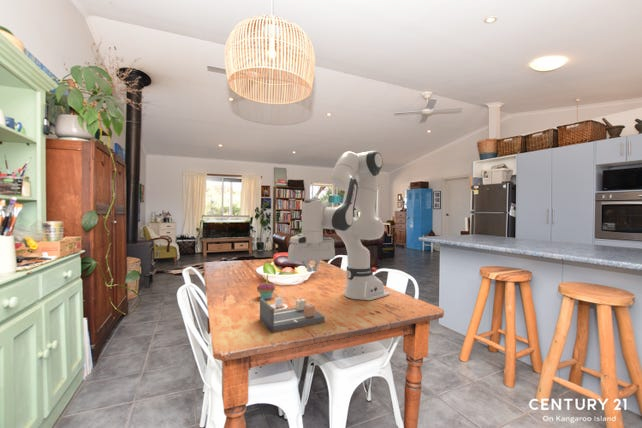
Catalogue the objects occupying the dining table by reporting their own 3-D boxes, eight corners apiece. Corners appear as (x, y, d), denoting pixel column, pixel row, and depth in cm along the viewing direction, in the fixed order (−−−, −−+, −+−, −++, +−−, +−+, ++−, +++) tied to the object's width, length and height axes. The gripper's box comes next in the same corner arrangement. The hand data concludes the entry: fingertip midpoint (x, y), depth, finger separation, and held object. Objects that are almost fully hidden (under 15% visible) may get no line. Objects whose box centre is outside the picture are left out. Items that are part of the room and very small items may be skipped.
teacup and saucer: (268, 312, 120) (268, 302, 120) (266, 305, 128) (266, 296, 128) (289, 310, 123) (289, 300, 123) (286, 304, 130) (286, 295, 130)
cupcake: (277, 298, 137) (278, 273, 137) (261, 301, 132) (261, 275, 132) (270, 294, 144) (270, 270, 144) (254, 296, 140) (254, 272, 139)
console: (308, 310, 122) (308, 291, 122) (325, 322, 109) (325, 301, 108) (259, 318, 112) (259, 298, 112) (271, 333, 99) (271, 309, 99)
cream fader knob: (302, 307, 118) (302, 298, 118) (305, 309, 116) (305, 300, 116) (295, 308, 117) (295, 299, 117) (298, 310, 114) (298, 301, 114)
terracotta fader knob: (311, 313, 111) (311, 304, 111) (314, 315, 109) (314, 306, 109) (304, 314, 110) (304, 305, 110) (307, 317, 107) (307, 307, 107)
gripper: (330, 236, 126) (330, 267, 126) (286, 238, 116) (286, 272, 117) (337, 237, 120) (337, 270, 120) (292, 239, 111) (292, 275, 111)
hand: (312, 271), depth 118 cm, fingers closed
